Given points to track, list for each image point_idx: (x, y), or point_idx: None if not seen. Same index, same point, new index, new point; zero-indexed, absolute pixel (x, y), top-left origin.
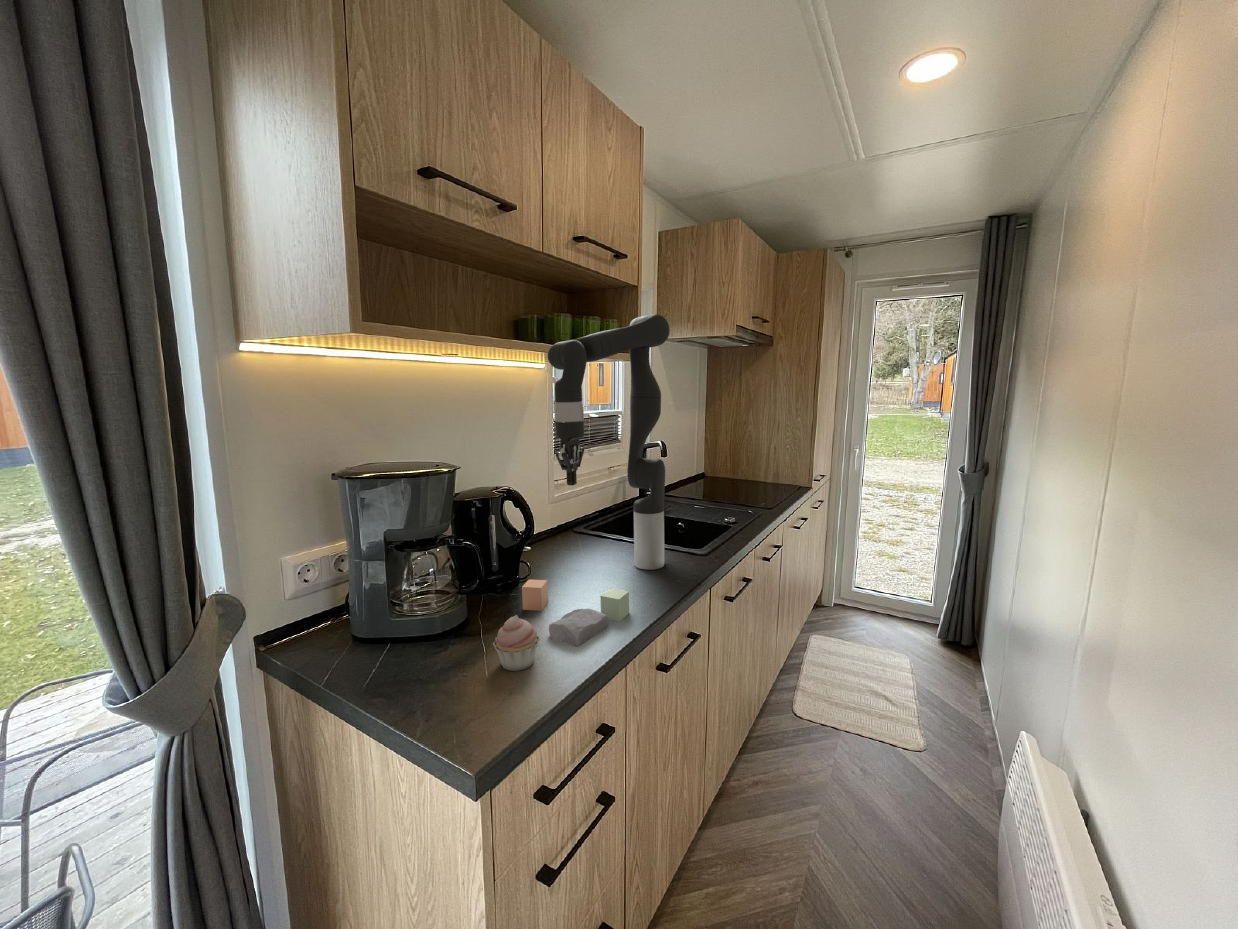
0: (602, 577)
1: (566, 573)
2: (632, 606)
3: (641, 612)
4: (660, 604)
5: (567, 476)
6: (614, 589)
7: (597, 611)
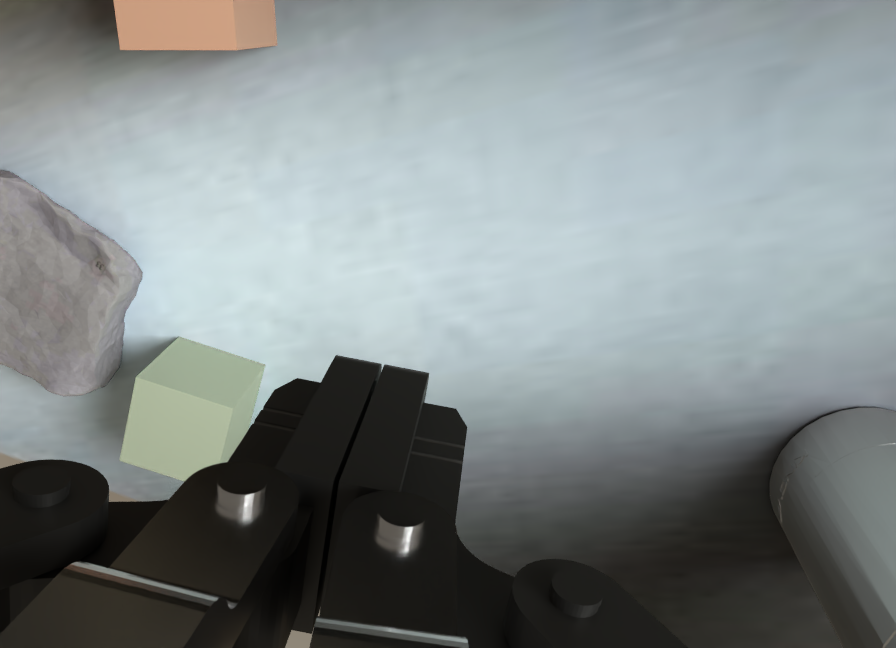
0: (655, 259)
1: (721, 20)
2: None
3: None
4: None
5: (245, 449)
6: (221, 428)
7: (91, 355)
